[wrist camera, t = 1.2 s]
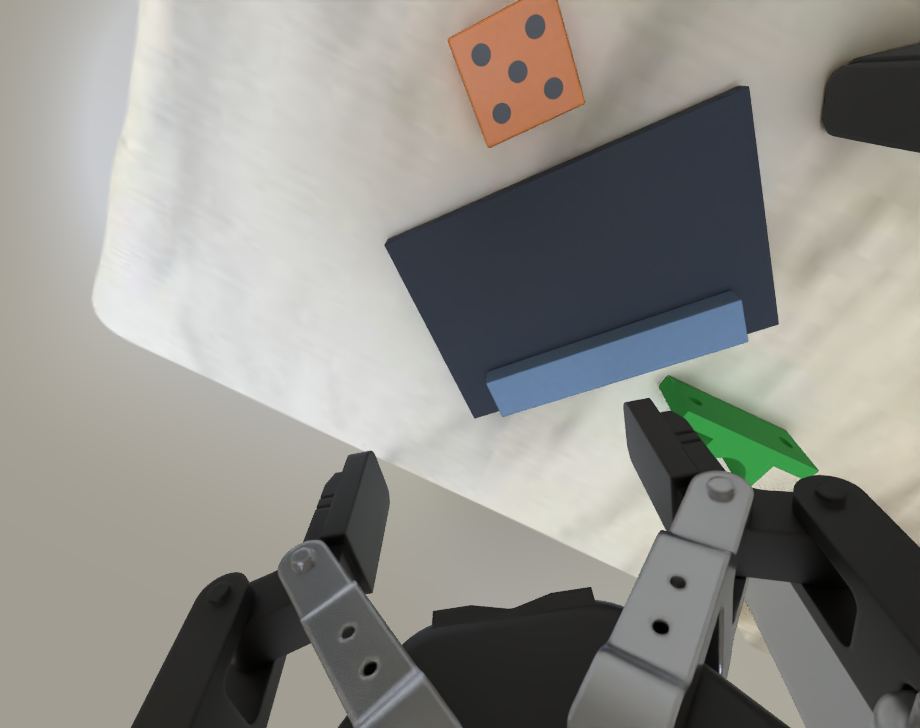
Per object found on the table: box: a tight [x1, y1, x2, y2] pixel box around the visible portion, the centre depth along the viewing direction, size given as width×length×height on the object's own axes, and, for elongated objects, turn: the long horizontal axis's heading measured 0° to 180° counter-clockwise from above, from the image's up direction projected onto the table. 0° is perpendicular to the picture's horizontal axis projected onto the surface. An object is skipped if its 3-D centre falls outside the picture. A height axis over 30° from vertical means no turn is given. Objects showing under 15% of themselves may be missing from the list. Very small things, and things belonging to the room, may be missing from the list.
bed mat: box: [385, 86, 779, 418], centre depth 31 cm, size 15×22×3 cm
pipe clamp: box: [659, 376, 819, 486], centre depth 36 cm, size 11×4×5 cm, turn 65°
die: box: [448, 0, 585, 148], centre depth 24 cm, size 5×5×5 cm
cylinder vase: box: [744, 578, 873, 728], centre depth 34 cm, size 12×12×25 cm
